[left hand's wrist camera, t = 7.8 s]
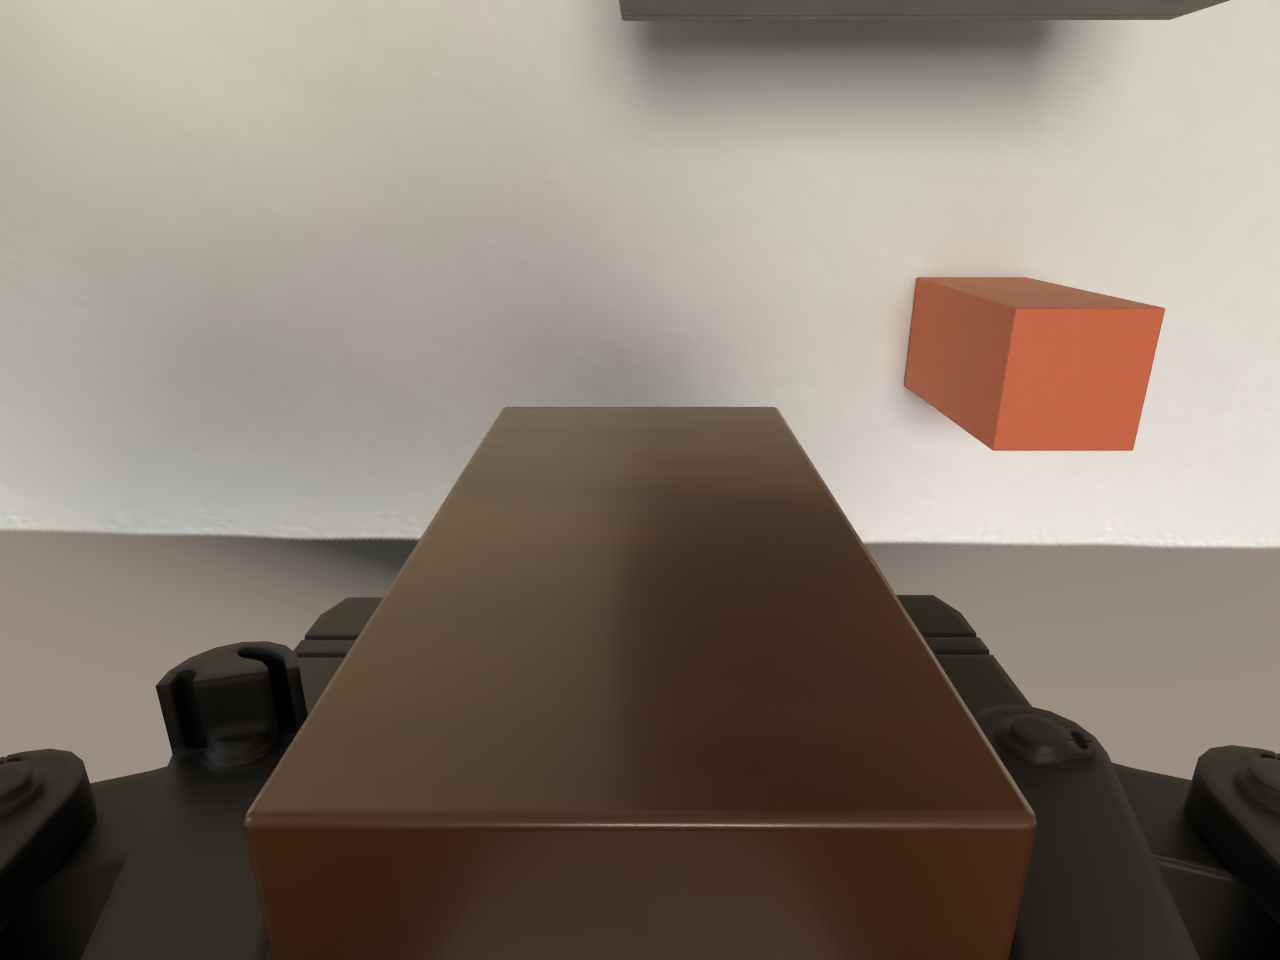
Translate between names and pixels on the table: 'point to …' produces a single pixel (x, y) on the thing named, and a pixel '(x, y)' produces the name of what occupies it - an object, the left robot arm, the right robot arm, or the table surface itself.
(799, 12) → the tote
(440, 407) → the table surface
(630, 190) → the table surface
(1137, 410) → the terracotta block
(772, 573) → the walnut block
